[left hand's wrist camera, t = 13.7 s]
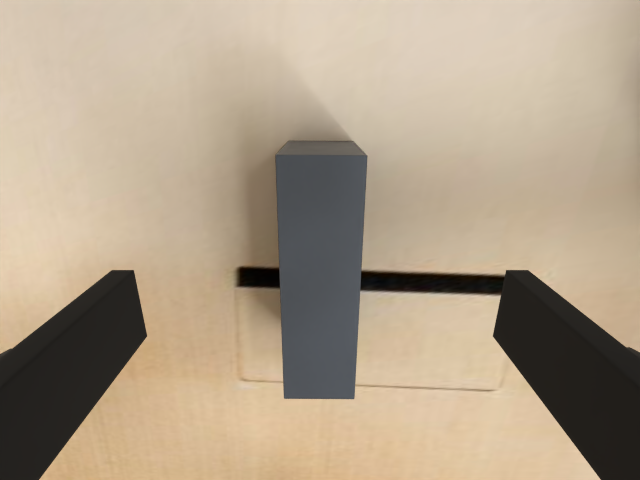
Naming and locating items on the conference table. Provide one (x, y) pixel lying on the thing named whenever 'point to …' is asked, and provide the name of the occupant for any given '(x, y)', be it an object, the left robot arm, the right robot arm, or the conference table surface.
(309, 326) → the box
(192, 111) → the conference table surface
